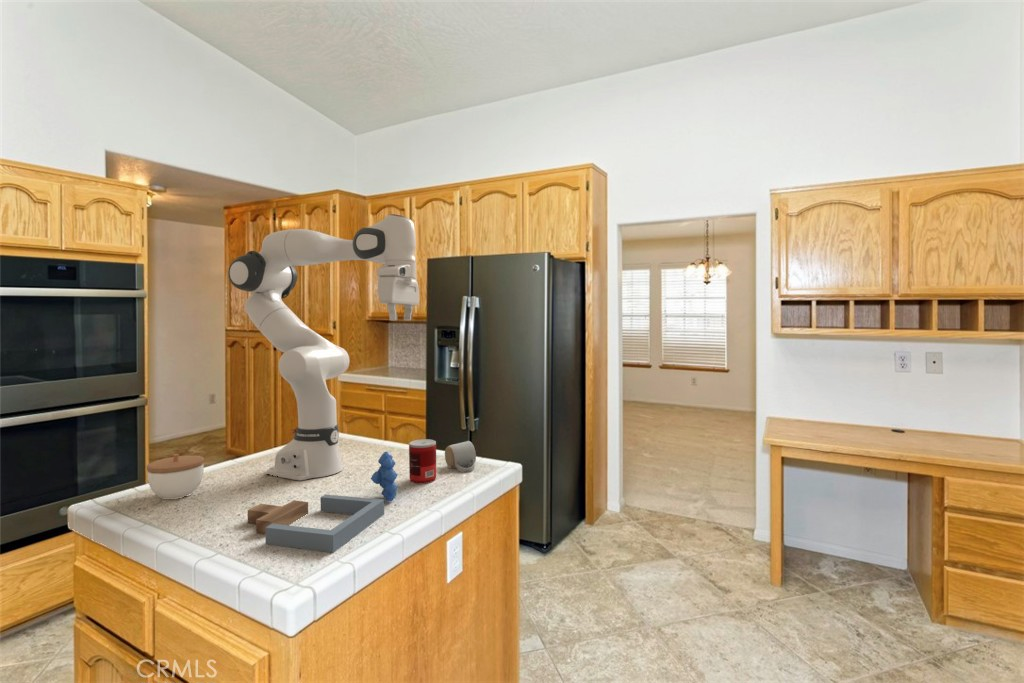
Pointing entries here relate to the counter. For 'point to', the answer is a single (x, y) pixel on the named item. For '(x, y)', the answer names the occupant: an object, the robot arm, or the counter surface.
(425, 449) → the canned food
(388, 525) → the counter surface
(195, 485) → the lidded bowl
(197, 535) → the counter surface
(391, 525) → the counter surface
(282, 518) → the t block
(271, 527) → the bay
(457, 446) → the ceramic mug
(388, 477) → the grapes
